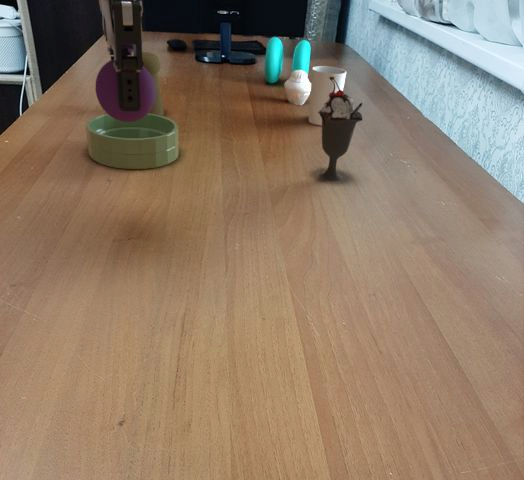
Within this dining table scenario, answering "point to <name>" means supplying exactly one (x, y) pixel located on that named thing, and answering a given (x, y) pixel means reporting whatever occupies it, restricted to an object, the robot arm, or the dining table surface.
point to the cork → (153, 68)
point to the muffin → (297, 87)
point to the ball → (109, 93)
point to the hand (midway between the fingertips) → (126, 100)
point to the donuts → (276, 58)
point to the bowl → (132, 141)
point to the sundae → (337, 128)
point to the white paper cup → (323, 89)
